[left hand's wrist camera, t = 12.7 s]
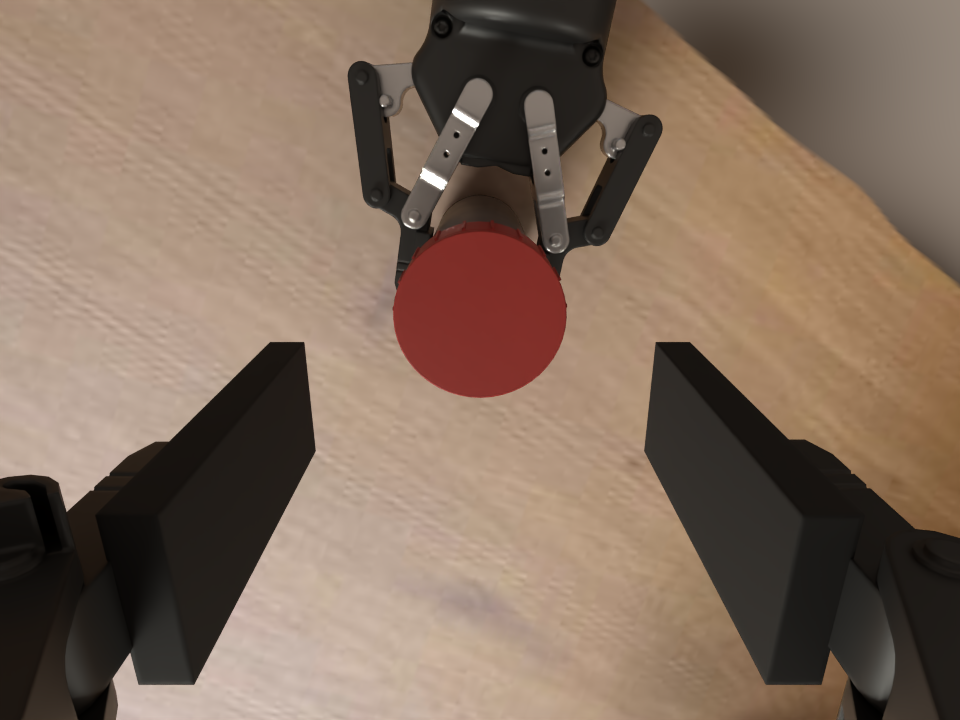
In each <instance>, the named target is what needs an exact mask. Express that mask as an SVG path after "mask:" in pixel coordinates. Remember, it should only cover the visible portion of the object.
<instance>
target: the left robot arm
mask: <svg viewBox="0 0 960 720" xmlns="http://www.w3.org/2000/svg"><path fill="white" fill-rule="evenodd" d="M315 451H316V449H315V440H314V430H313V421H312V411H311V402H310V392H309V383H308V373H307V364H306V354H305V345H304V342H270V343H269V344H268V345H267V346H266V347H265V348H264V349H263V350H262V351H261V352H260V353H259V354H258V355H257V356H256V357H255V358H254V359H253V360H252V361H251V362H250V363H248V364H247V365H246V366H245V367H244V368H243V369H242V370H241V371H240V372H239V373H238V374H237V375H236V376H235V377H234V378H233V379H232V380H231V381H230V382H229V383H228V384H227V385H226V386H225V387H224V388H223V389H222V390H221V391H220V392H219V393H218V394H217V395H216V396H215V397H214V398H213V399H212V400H211V401H210V402H209V403H208V404H207V405H206V406H205V407H204V408H203V409H202V410H201V411H200V412H199V413H198V414H197V415H196V416H195V417H194V418H193V419H192V420H191V421H190V422H189V423H188V424H187V425H186V426H185V427H184V428H183V429H182V430H181V431H180V432H179V433H178V434H176V435H175V436H174V437H173V438H172V439H171V440H170V441H169V442H154V443H152V444H150V445H148V446H147V447H145V448H143V449H141V450H139V451H137V452H135V453H133V454H131V455H129V456H128V457H127V458H126V459H124V460H123V461H122V462H121V463H120V464H119V465H118V466H117V467H116V468H115V469H114V470H112V471H111V472H110V476H106V477H105V478H104V479H103V480H101V481H100V482H99V483H98V484H97V485H96V486H95V487H94V491H89V492H88V493H87V494H86V495H85V496H84V497H83V498H82V499H81V500H80V501H78V502H77V503H76V504H75V505H74V506H73V507H72V508H71V509H70V510H69V511H67V512H66V508H65V505H64V501H63V498H62V494H61V490H60V487H59V483H58V482H56V481H55V480H53V479H51V478H50V477H46V476H38V475H24V476H13V477H6V478H2V479H0V720H116V715H117V708H118V702H117V695H116V690H115V686H114V683H113V679H112V678H113V677H114V675H115V674H116V672H117V671H118V670H119V668H120V667H121V665H122V664H123V662H124V661H125V659H126V658H127V656H128V655H129V653H131V657H132V661H133V665H134V669H135V673H136V676H137V680H138V684H139V685H194V684H195V682H196V680H197V678H198V676H199V674H200V672H201V671H202V669H203V667H204V665H205V663H206V661H207V659H208V657H209V655H210V653H211V651H212V649H213V647H214V646H215V644H216V642H217V640H218V638H219V636H220V634H221V632H222V630H223V628H224V626H225V624H226V622H227V621H228V619H229V617H230V615H231V613H232V611H233V609H234V607H235V605H236V603H237V601H238V599H239V597H240V596H241V594H242V592H243V590H244V588H245V586H246V584H247V582H248V580H249V578H250V576H251V574H252V572H253V571H254V569H255V567H256V565H257V563H258V561H259V559H260V557H261V555H262V553H263V551H264V549H265V547H266V546H267V544H268V542H269V540H270V538H271V536H272V534H273V532H274V530H275V528H276V526H277V524H278V523H279V521H280V519H281V517H282V515H283V513H284V511H285V509H286V507H287V505H288V503H289V501H290V499H291V498H292V496H293V494H294V492H295V490H296V488H297V486H298V484H299V482H300V480H301V478H302V476H303V474H304V473H305V471H306V469H307V467H308V465H309V463H310V461H311V459H312V457H313V455H314V453H315ZM644 451H645V453H646V455H647V457H648V459H649V461H650V463H651V465H652V467H653V469H654V471H655V473H656V474H657V476H658V478H659V480H660V482H661V484H662V486H663V488H664V490H665V492H666V494H667V496H668V498H669V499H670V501H671V503H672V505H673V507H674V509H675V511H676V513H677V515H678V517H679V519H680V521H681V523H682V524H683V526H684V528H685V530H686V532H687V534H688V536H689V538H690V540H691V542H692V544H693V546H694V547H695V549H696V551H697V553H698V555H699V557H700V559H701V561H702V563H703V565H704V567H705V569H706V571H707V572H708V574H709V576H710V578H711V580H712V582H713V584H714V586H715V588H716V590H717V592H718V594H719V596H720V597H721V599H722V601H723V603H724V605H725V607H726V609H727V611H728V613H729V615H730V617H731V619H732V621H733V622H734V624H735V626H736V628H737V630H738V632H739V634H740V636H741V638H742V640H743V642H744V644H745V646H746V647H747V649H748V651H749V653H750V655H751V657H752V659H753V661H754V663H755V665H756V667H757V669H758V671H759V672H760V674H761V676H762V678H763V680H764V682H765V684H766V685H821V684H822V680H823V676H824V673H825V669H826V665H827V661H828V657H829V653H830V650H831V651H832V653H833V654H834V656H835V657H836V659H837V660H838V662H839V663H840V665H841V666H842V668H843V669H844V671H845V672H846V673H847V675H848V679H847V683H846V686H845V690H844V694H843V697H842V701H841V705H840V708H839V712H838V715H837V719H836V720H960V538H957V537H954V536H950V535H947V534H943V533H939V532H936V531H928V530H919V529H915V528H914V527H912V526H911V525H910V524H909V523H908V522H907V521H906V520H905V519H904V518H903V517H901V516H900V515H899V514H898V513H897V512H896V511H895V510H894V509H893V508H891V507H890V506H889V505H888V504H887V503H886V502H885V501H884V500H883V499H882V498H880V497H879V496H878V495H877V494H876V493H875V492H874V491H873V490H872V489H870V488H866V484H865V483H864V482H863V481H862V480H861V479H859V478H858V477H857V476H856V475H855V474H851V470H849V469H848V468H847V467H846V466H845V465H844V464H843V463H842V462H841V461H840V460H838V459H837V458H836V457H835V456H834V455H833V454H831V453H830V452H828V451H826V450H824V449H822V448H820V447H818V446H816V445H814V444H812V443H810V442H808V441H806V440H789V439H788V438H787V437H786V436H785V435H784V434H782V433H781V432H780V431H779V430H778V429H777V428H776V427H775V426H774V425H773V424H772V423H771V422H770V421H769V420H768V419H767V418H766V417H765V416H764V415H763V414H762V413H761V412H760V411H759V410H758V409H757V408H756V407H755V406H754V405H753V404H752V403H751V402H750V401H749V400H748V399H747V398H746V397H745V396H744V395H743V394H742V393H741V392H740V391H739V390H738V389H737V388H736V387H735V386H734V385H733V384H732V383H731V382H730V381H729V380H728V379H727V378H726V377H725V376H724V375H723V374H722V373H721V372H720V371H719V370H718V369H717V368H716V367H715V366H714V365H713V364H712V363H710V362H709V361H708V360H707V359H706V358H705V357H704V356H703V355H702V354H701V353H700V352H699V351H698V350H697V349H696V348H695V347H694V346H693V345H692V344H691V343H690V342H656V345H655V354H654V364H653V373H652V383H651V392H650V402H649V411H648V421H647V430H646V440H645V449H644Z"/></svg>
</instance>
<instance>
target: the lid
mask: <svg viewBox="0 0 960 720" xmlns="http://www.w3.org/2000/svg"><path fill="white" fill-rule="evenodd" d="M560 280H561V278H560V276H559V274H558V273H557V271H556V269H555V267H553V268H552V266H551V264H550V262H549V261H548V259H547V258H546V254H545V253H544V251H543V249H542V247H541V246H540V245H538V246H537V245H536V244H535V243H534V242H533V241H532V240H530V239H529V238H528V237H527V236H525V235H524V234H522V233H521V231H520V229H518V228H517V230H515V229H513V228H511V227H508V226H505V225H502V224H498V223H494V220H491V222H481V221H478V222H467V223H466V221H463V223H462V224H458V225H455V226H452V227H449V228H447V229H445V230H443V231H440V230H438V231H437V233H436V235H435V236H433V237H432V238H430V239H429V240H428V241H427V242H426V243H425V244H424V245H423V246H422V247H421V248H419V247H418V248H417V249H416V251H415V253H414V255H413V256H412V260H411V262H410V264H409V266H408V267H407V269H406V270H404V271H403V273H402V275H401V277H400V278H399V280H398V283H399V286H398V289H397V292H396V296H395V301H394V306H393V320H394V328H395V333H396V336H397V340H398V343H399V345H400V347H401V350H402V352H403V353H404V355H405V357H406V358H407V360H408V361H409V363H410V364H411V365H412V367H413V368H414V369H415V370H416V371H417V372H418V373H419V374H420V375H421V376H422V377H424V378H425V379H426V380H427V381H429V382H430V383H432V384H433V385H435V386H437V387H439V388H441V389H443V390H445V391H447V392H450V393H453V394H457V395H460V396H466V397H477V398H484V397H494V396H499V395H503V394H506V393H510V392H513V391H515V390H517V389H519V388H521V387H523V386H525V385H526V384H528V383H530V382H531V381H532V380H534V379H535V378H536V377H537V376H539V375H540V374H541V373H542V372H543V371H544V370H545V369H546V368H547V366H548V365H549V364H550V362H551V361H552V360H553V358H554V357H555V355H556V353H557V351H558V349H559V347H560V344H561V342H562V339H563V336H564V332H565V327H566V318H567V317H566V307H567V304H566V302H565V296H564V293H563V290H562V286H561V284H560V282H559V281H560Z"/></svg>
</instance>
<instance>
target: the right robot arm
mask: <svg viewBox="0 0 960 720" xmlns="http://www.w3.org/2000/svg"><path fill="white" fill-rule="evenodd" d="M615 4H616V0H433V1H432V9H431V17H430V25H429V30H428V34H427V36H426V39H425V41H424V43H423V45H422V47H421V48H420V50H419V51H418V52H417V54H416V55H415V57H414V60H413V63H400V64H386V65H372V64H370V63H367V62H364V61H358V62H355V63H354V64H352V66H351V67H350V68H349V71H348V83H349V91H350V98H351V106H352V114H353V122H354V129H355V137H356V145H357V153H358V161H359V168H360V176H361V184H362V192H363V198H364V200H365V202H366V203H367V204H368V205H369V206H370V207H372V208H379V209H381V210H383V211H384V212H386V213H388V214H390V215H391V216H393V217H394V218H395V219H396V220H397V221H398V223H399V225H400V228H401V237H400V245H399V253H398V261H397V269H396V276H395V286H396V289H398V286H399V283H398V280H399V278H400V277H401V275H402V273H403V271H404V270H406V269H407V267H408V266H409V264H410V262H411V260H412V256H413V255H414V253H415V251H416V249H417V248H418V247H419V248H421V247H422V246H423V245H424V244H425V243H426V242H427V241H428V240H429V239H430V238H432V237H433V232H434V227H430V224H431V217H432V212H433V210H434V208H435V206H436V204H437V202H438V200H439V199H440V197H441V195H442V193H443V191H444V189H445V187H446V186H447V184H448V182H449V180H450V178H451V176H452V175H453V173H454V171H455V169H456V167H457V165H458V163H459V162H460V163H461V164H462V165H467V166H473V167H487V166H498V167H500V168H502V169H504V170H506V171H509V172H511V173H513V174H517V175H523V176H529V181H530V188H531V193H532V198H533V203H534V210H535V216H536V223H537V230H538V241H537V246H538V245H540V246H541V247H542V249H543V251H544V253H545V254H546V258H547V259H548V261H549V262H550V264H551V266H552V268H553V267H555V269H556V271H557V273H558V274H559V276H560V272H561V268H562V263H563V259H564V257H565V255H566V254H567V253H568V252H569V251H570V250H572V249H574V248H577V247H583V246H588V245H593V246H600V245H603V244H605V243H606V242H607V241H608V240H609V238H610V236H611V234H612V232H613V230H614V228H615V226H616V224H617V222H618V220H619V218H620V216H621V214H622V212H623V210H624V208H625V206H626V204H627V202H628V200H629V198H630V196H631V194H632V192H633V190H634V188H635V186H636V184H637V182H638V180H639V178H640V176H641V174H642V172H643V170H644V168H645V166H646V164H647V162H648V160H649V158H650V156H651V154H652V152H653V150H654V148H655V146H656V144H657V142H658V140H659V138H660V136H661V134H662V129H663V128H662V123H661V121H660V119H659V118H658V117H656V116H655V115H638V114H636V113H634V112H632V111H630V110H628V109H626V108H624V107H622V106H620V105H618V104H615V103H613V102H611V101H609V100H607V92H606V88H605V84H604V80H603V60H604V54H605V50H606V45H607V41H608V36H609V31H610V27H611V22H612V18H613V13H614V9H615ZM411 88H416V90H417V92H418V94H419V96H420V99H421V101H422V103H423V105H424V107H425V109H426V111H427V113H428V115H429V117H430V119H431V121H432V123H433V125H434V127H435V130H436V132H437V134H438V136H439V138H438V140H437V142H436V144H435V146H434V148H433V150H432V152H431V154H430V155H429V157H428V159H427V161H426V163H425V165H424V167H423V169H422V171H421V174H420V176H419V178H418V180H417V182H416V184H415V186H414V188H413V189H412V191H409V190H407V189H406V188H404V187H402V186H400V185H399V184H397V183H396V177H395V168H394V159H393V150H392V141H391V131H390V122H389V117H394V116H396V115H398V114H399V113H400V112H401V110H402V107H403V98H404V95H405V93H406V92H407V91H408V90H409V89H411ZM595 122H597V123H598V124H599V125H600V127H601V129H602V138H601V141H600V149H601V151H602V153H603V154H604V155H605V156H607V157H608V158H607V160H606V162H605V165H604V167H603V169H602V171H601V173H600V175H599V177H598V179H597V181H596V183H595V186H594V188H593V190H592V192H591V194H590V196H589V198H588V200H587V202H586V204H585V206H584V209H583V211H582V213H581V215H580V216H577V217H571V218H566V210H565V203H564V198H565V194H564V185H563V178H562V170H561V163H560V156H561V155H562V154H564V153H565V152H566V151H567V150H568V149H569V148H570V147H571V146H572V145H573V144H574V143H575V142H576V141H577V140H578V139H579V138H580V137H581V136H582V135H583V134H584V133H585V132H586V131H587V130H588V129H589V128H590V127H591V126H592V125H593V124H594V123H595ZM447 152H448V154H449V155H448V154H447Z"/></svg>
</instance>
